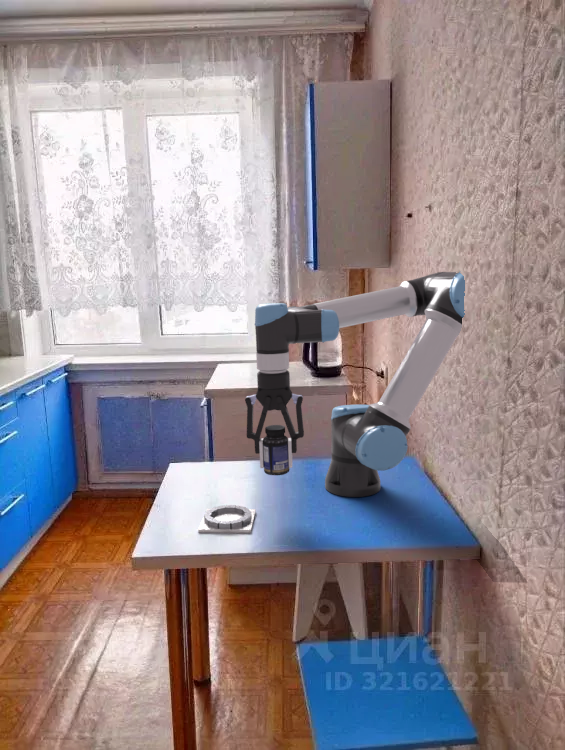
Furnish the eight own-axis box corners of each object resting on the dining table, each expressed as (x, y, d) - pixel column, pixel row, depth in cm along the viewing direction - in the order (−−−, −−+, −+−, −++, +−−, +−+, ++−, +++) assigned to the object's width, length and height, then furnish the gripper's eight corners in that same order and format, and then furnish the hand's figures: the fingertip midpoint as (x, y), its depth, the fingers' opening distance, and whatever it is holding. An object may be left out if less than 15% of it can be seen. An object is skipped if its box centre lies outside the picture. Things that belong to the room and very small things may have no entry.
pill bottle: (292, 469, 144) (291, 424, 142) (284, 477, 138) (283, 431, 136) (269, 466, 146) (267, 423, 144) (260, 475, 140) (258, 429, 138)
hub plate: (255, 512, 147) (255, 504, 146) (250, 533, 135) (250, 524, 135) (207, 511, 147) (207, 504, 147) (198, 532, 136) (197, 524, 135)
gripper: (314, 366, 141) (316, 460, 145) (234, 368, 142) (238, 461, 146) (314, 372, 133) (316, 470, 137) (230, 374, 134) (234, 471, 138)
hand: (276, 465), depth 142 cm, fingers closed on pill bottle, 6 cm apart
